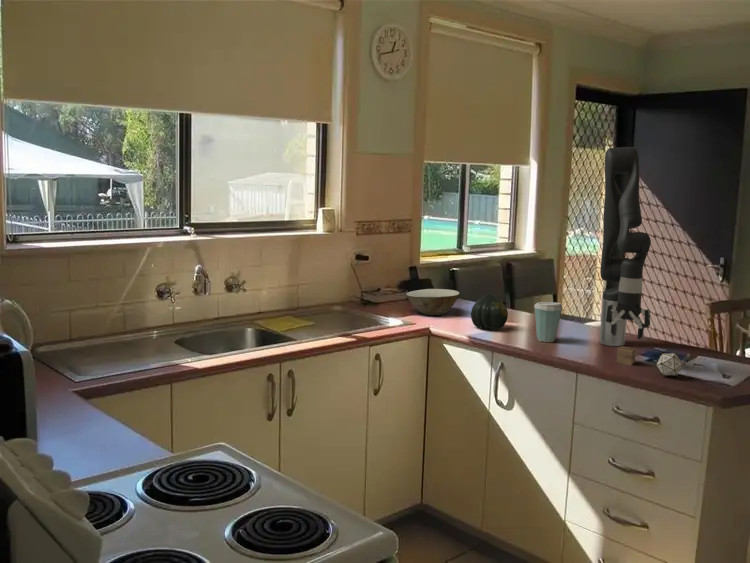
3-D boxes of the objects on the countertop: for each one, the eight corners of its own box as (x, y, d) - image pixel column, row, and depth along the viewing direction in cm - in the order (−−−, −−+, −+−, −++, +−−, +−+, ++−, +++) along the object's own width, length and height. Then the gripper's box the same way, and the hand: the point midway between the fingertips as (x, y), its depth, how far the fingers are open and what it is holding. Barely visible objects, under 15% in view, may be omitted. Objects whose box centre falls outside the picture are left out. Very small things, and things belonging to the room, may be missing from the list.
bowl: (396, 310, 338) (397, 288, 336) (442, 306, 348) (442, 285, 346) (421, 320, 317) (422, 297, 315) (468, 316, 327) (469, 294, 325)
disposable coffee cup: (526, 339, 287) (528, 301, 284) (543, 335, 293) (545, 298, 291) (549, 345, 279) (551, 306, 276) (566, 341, 285) (568, 303, 283)
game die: (669, 385, 243) (682, 359, 245) (680, 384, 235) (694, 357, 237) (645, 371, 244) (659, 345, 246) (655, 369, 236) (670, 342, 238)
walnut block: (620, 360, 260) (621, 346, 259) (635, 362, 257) (636, 348, 256) (616, 363, 256) (617, 349, 255) (631, 365, 253) (632, 351, 252)
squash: (486, 321, 292) (503, 290, 297) (459, 316, 304) (476, 287, 308) (503, 341, 300) (520, 310, 305) (476, 335, 312) (492, 306, 316)
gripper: (654, 291, 251) (650, 338, 254) (612, 286, 259) (609, 332, 262) (648, 294, 245) (644, 342, 248) (605, 289, 253) (602, 335, 256)
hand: (626, 336), depth 255 cm, fingers open, 8 cm apart
